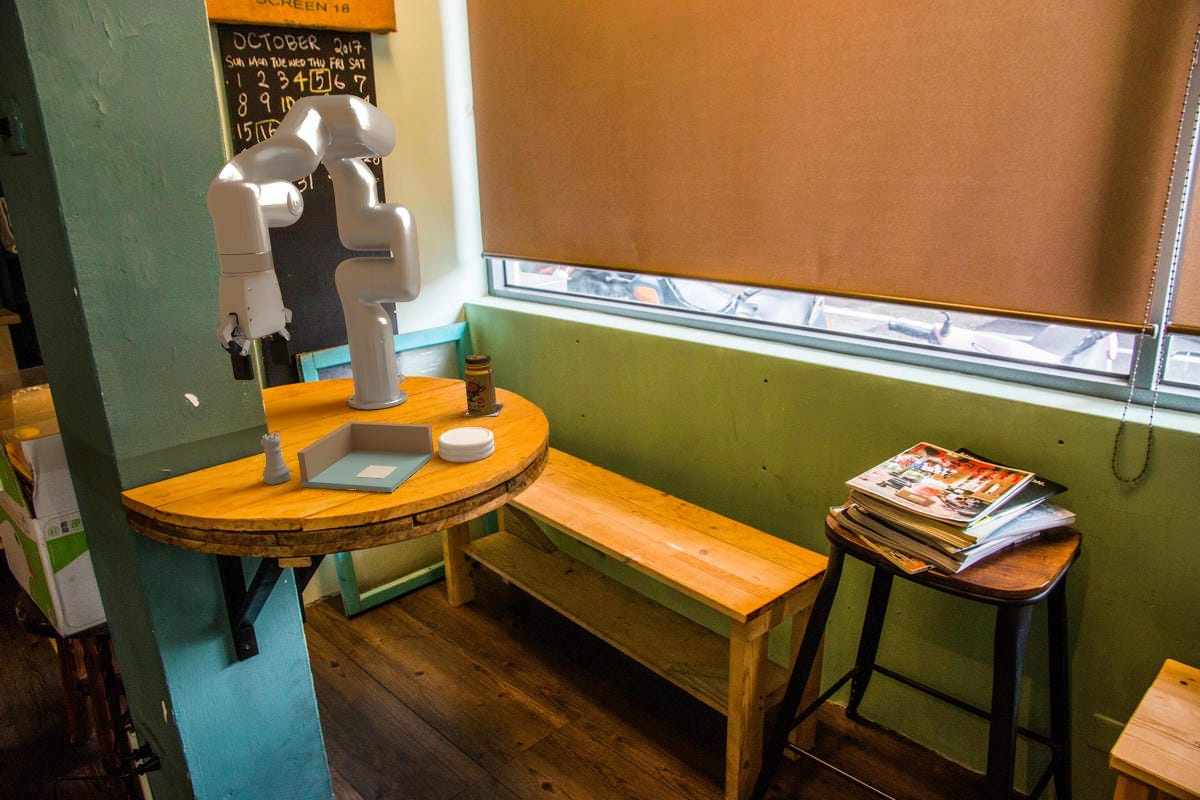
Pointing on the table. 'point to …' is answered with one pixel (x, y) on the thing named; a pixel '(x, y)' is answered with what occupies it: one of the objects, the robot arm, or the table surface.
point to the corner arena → (366, 456)
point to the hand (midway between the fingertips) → (264, 371)
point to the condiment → (480, 387)
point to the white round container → (466, 444)
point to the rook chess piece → (274, 461)
